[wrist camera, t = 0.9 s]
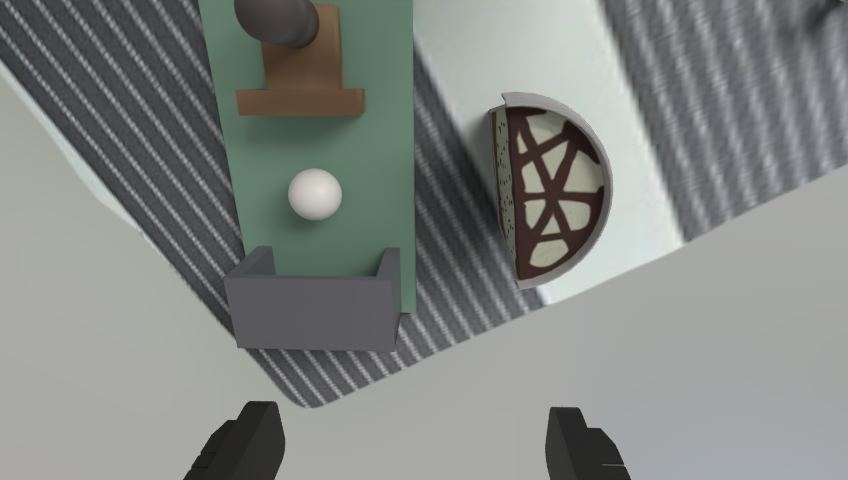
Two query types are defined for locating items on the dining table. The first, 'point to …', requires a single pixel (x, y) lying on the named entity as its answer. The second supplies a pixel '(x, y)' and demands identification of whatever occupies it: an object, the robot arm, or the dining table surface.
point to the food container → (547, 186)
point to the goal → (314, 306)
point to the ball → (314, 194)
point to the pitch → (326, 147)
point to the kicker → (297, 60)
